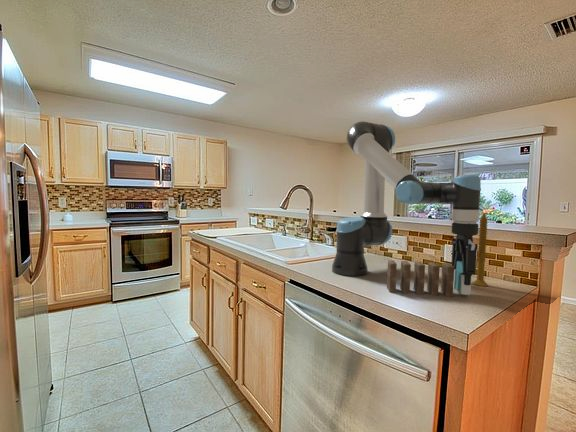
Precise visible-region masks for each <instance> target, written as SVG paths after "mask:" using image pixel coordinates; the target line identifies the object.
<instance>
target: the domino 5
mask: <svg viewBox="0 0 576 432" xmlns="http://www.w3.org/2000/svg"><path fill="white" fill-rule="evenodd" d="M454 270H455V269H454V266H452V265H451V264H450V263H449V262H442V263H441V281H440V292H441V293H442V294H443V295H444V296H446V297H454V288H453V284H454Z"/></svg>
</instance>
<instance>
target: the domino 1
mask: <svg viewBox="0 0 576 432" xmlns="http://www.w3.org/2000/svg"><path fill="white" fill-rule="evenodd" d="M397 265H398V264H397V262H396V261H395V260H390V259H389V260H387V274H386V275H387V276H386V277H387V278H386V289H387V290H388V292H389V293H395V294H396V293H397V292H396V291H397V290H396V289H397V271H398V270H397Z"/></svg>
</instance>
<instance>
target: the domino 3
mask: <svg viewBox="0 0 576 432" xmlns="http://www.w3.org/2000/svg"><path fill="white" fill-rule="evenodd" d="M413 264H414V265H413V266H414V269H413V270H414V271H413V286H412V287H413V291H414V292H415V293H416V295H422V296H423V295H424V294H425V280H426V279H425V275H426V264H424V263H423V262H421V261H414V263H413Z"/></svg>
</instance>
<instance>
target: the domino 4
mask: <svg viewBox="0 0 576 432" xmlns="http://www.w3.org/2000/svg"><path fill="white" fill-rule="evenodd" d="M440 268H441V267H440V265H439V264H438V263H435V262H434V261H433V262H431V261H428V262H427V280H426V281H427V282H426V283H427V284H426V291H427V292H428V293H429V294H430V295H431V296H435V297H436V296H439V290H440V289H439V287H440V285H439V284H440Z"/></svg>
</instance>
